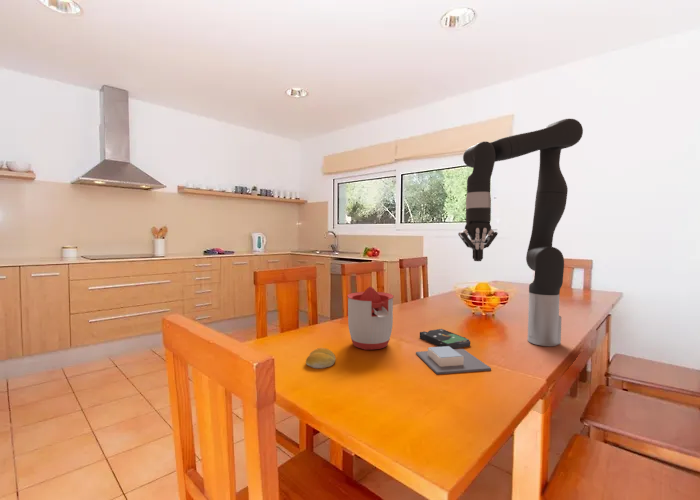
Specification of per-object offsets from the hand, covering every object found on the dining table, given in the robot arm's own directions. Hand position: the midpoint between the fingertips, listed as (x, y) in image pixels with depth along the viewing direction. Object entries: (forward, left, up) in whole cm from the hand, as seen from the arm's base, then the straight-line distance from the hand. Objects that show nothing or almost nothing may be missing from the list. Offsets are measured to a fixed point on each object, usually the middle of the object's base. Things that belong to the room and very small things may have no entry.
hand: (477, 261), depth 113 cm
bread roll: (+51, +3, -29) cm, 59 cm away
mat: (+13, +9, -29) cm, 33 cm away
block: (+12, +9, -27) cm, 31 cm away
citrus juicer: (+33, -9, -29) cm, 45 cm away
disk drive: (+7, -9, -30) cm, 32 cm away
